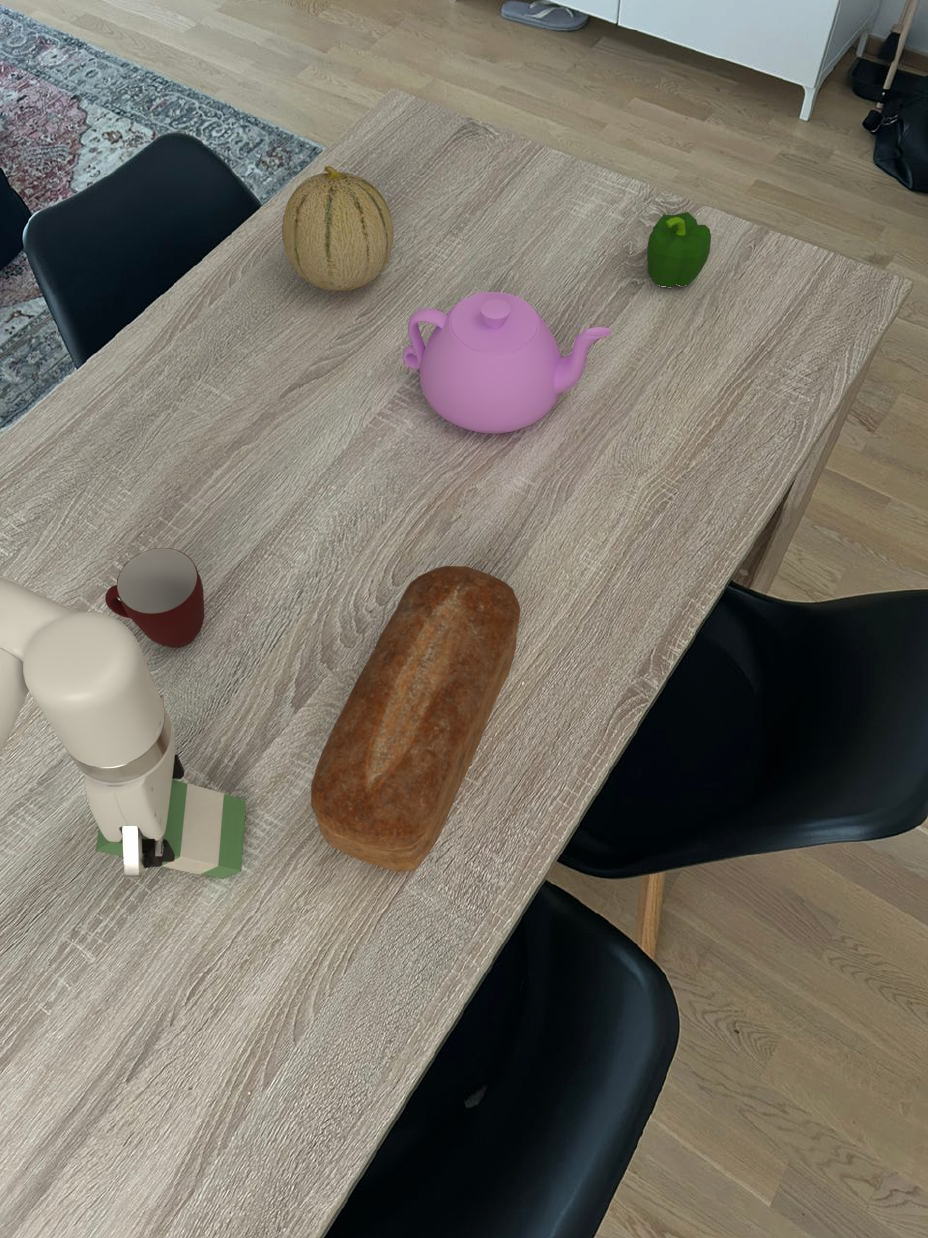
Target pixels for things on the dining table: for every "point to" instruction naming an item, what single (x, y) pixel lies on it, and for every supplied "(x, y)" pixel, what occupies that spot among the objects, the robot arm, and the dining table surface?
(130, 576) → the mug
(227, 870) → the block
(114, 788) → the robot arm
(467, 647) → the bread
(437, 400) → the teapot
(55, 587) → the dining table surface
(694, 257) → the bell pepper
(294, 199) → the cantaloupe
